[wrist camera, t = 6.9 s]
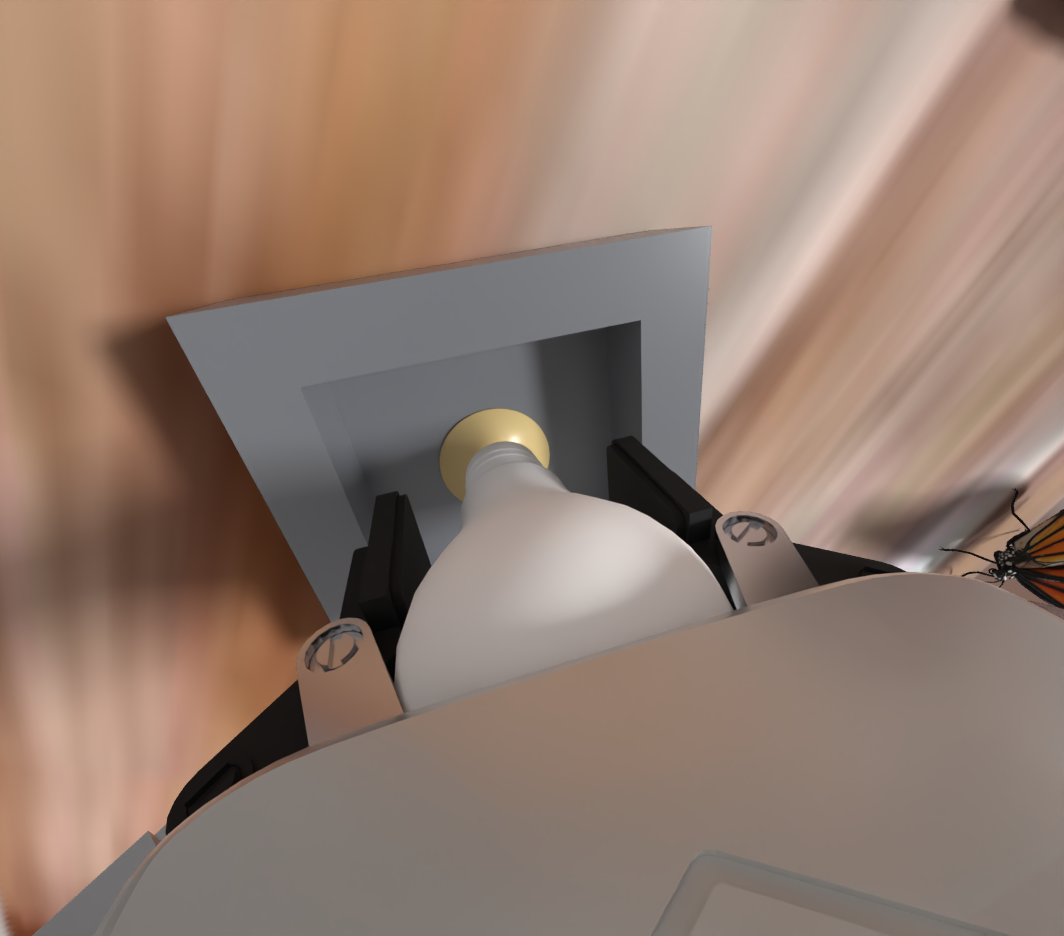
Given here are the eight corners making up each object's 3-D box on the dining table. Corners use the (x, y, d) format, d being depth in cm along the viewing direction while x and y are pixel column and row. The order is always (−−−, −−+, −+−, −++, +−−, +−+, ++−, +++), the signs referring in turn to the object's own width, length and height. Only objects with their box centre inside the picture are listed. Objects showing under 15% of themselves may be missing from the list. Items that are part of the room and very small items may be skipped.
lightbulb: (396, 529, 15) (352, 1027, 5) (423, 359, 12) (428, 732, 3) (555, 541, 17) (726, 926, 7) (606, 398, 14) (960, 697, 5)
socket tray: (225, 300, 12) (165, 317, 9) (651, 230, 14) (712, 225, 11) (373, 617, 18) (365, 685, 15) (650, 540, 20) (688, 589, 17)
